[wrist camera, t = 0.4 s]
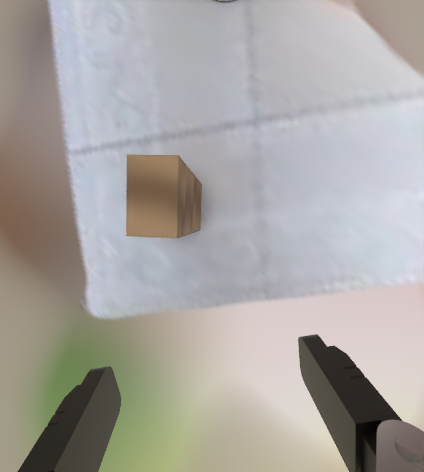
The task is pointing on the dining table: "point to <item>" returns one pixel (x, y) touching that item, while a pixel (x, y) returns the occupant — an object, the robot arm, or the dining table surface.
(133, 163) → the walnut block
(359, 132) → the dining table surface
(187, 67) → the dining table surface
